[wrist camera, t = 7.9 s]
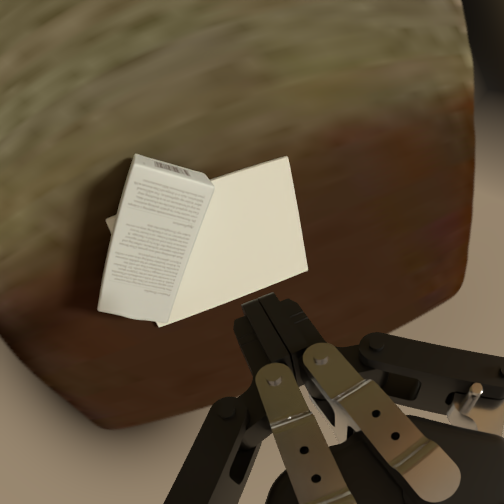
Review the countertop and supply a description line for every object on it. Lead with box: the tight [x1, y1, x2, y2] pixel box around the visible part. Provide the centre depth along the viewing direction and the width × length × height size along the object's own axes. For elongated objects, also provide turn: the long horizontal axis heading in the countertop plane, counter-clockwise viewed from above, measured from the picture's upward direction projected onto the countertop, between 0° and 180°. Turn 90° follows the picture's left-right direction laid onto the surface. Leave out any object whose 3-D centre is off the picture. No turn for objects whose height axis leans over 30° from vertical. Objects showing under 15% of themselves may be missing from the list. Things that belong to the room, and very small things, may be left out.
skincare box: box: [97, 154, 215, 323], centre depth 24 cm, size 6×4×12 cm
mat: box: [106, 156, 308, 327], centre depth 28 cm, size 12×16×1 cm
